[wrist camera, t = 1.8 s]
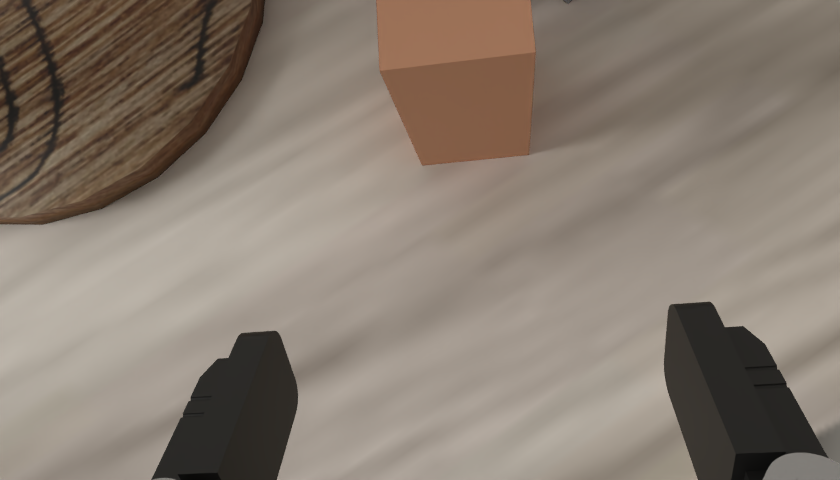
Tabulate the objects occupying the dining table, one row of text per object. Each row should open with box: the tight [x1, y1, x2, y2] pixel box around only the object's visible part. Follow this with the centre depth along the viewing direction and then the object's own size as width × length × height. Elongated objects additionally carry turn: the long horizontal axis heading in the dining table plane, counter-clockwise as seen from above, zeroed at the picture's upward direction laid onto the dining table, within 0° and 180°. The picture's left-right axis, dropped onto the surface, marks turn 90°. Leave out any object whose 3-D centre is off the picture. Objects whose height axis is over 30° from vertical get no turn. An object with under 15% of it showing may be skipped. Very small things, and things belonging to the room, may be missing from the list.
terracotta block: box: [376, 0, 536, 165], centre depth 26 cm, size 5×5×10 cm
